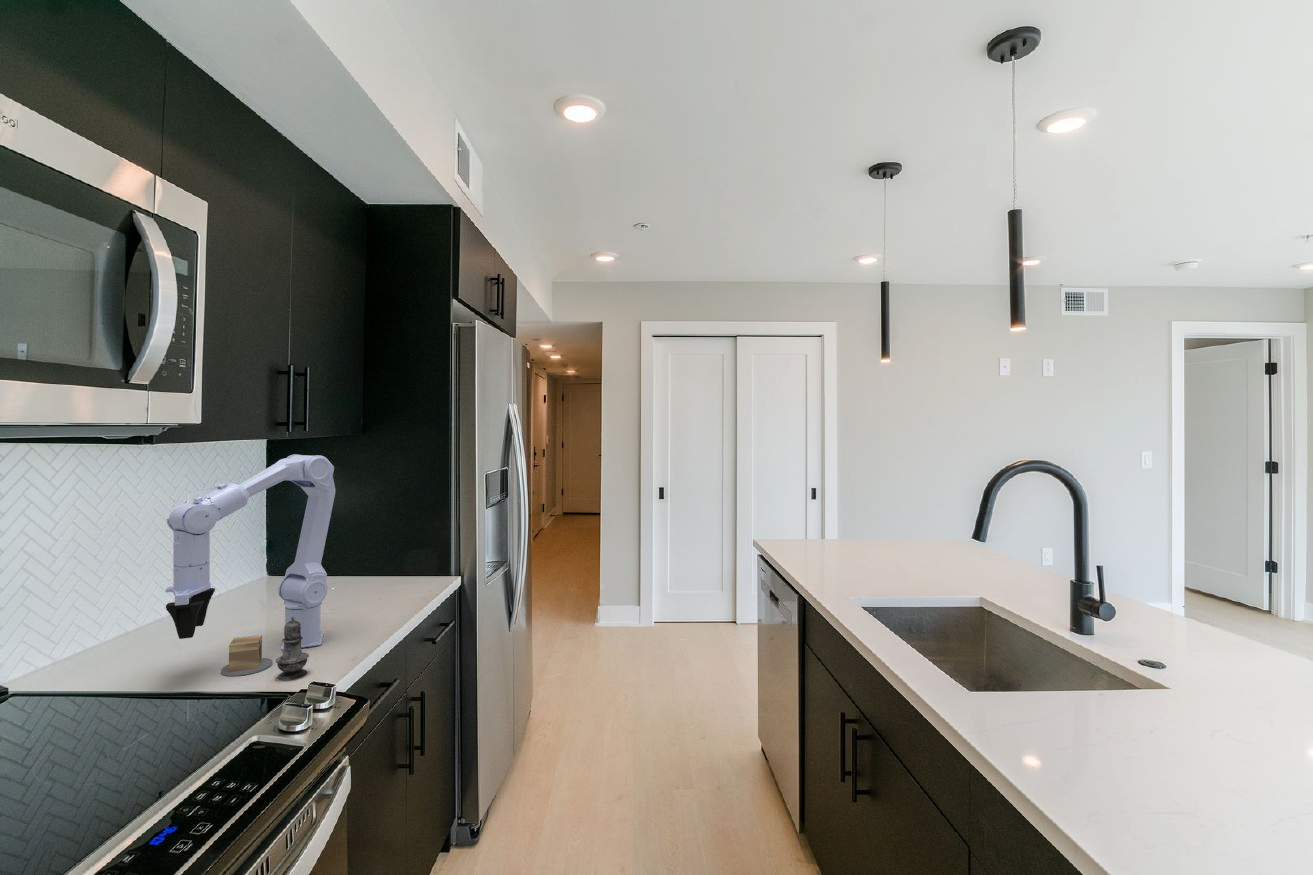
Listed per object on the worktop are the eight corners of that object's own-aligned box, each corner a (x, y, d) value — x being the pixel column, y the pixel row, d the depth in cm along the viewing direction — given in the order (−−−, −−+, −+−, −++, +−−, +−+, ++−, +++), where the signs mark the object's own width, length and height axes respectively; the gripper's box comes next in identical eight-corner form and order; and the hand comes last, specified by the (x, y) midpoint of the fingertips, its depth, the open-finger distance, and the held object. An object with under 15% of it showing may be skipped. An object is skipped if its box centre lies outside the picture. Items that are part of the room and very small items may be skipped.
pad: (225, 663, 127) (225, 661, 127) (275, 656, 131) (275, 655, 131) (215, 679, 119) (216, 677, 119) (269, 671, 123) (269, 669, 123)
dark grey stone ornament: (293, 682, 118) (293, 622, 118) (268, 679, 119) (268, 619, 119) (315, 670, 124) (316, 613, 124) (291, 668, 125) (291, 611, 125)
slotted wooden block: (234, 663, 126) (234, 637, 126) (262, 659, 128) (262, 634, 128) (228, 672, 122) (228, 645, 122) (257, 668, 124) (258, 641, 124)
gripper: (177, 558, 124) (177, 623, 124) (154, 573, 111) (154, 646, 111) (218, 555, 127) (218, 619, 127) (201, 570, 114) (201, 641, 114)
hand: (191, 631), depth 119 cm, fingers open, 7 cm apart
